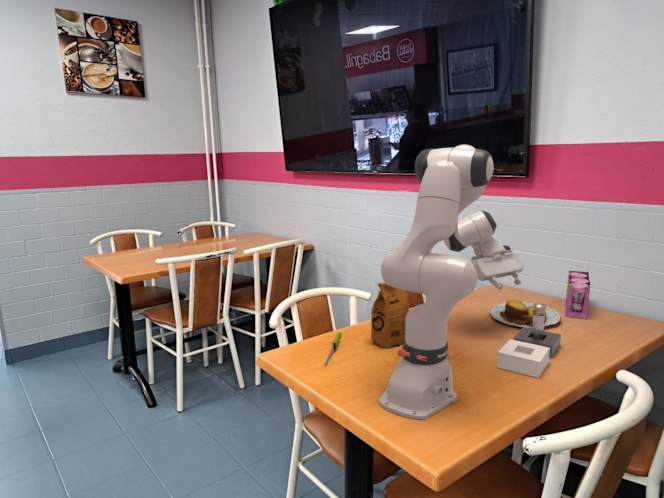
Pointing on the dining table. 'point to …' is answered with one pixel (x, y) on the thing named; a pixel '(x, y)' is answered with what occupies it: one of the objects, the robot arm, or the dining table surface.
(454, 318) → the dining table surface
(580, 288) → the gum box
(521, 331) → the socket block
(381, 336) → the coffee package
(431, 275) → the robot arm
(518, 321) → the food on plate
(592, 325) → the dining table surface
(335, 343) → the kitchen knife
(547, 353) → the rack block
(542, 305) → the shiny cylindrical peg
